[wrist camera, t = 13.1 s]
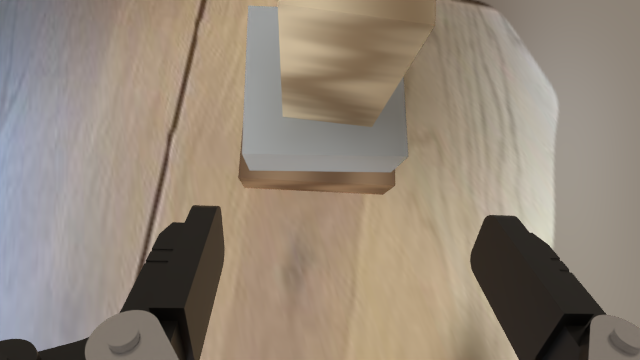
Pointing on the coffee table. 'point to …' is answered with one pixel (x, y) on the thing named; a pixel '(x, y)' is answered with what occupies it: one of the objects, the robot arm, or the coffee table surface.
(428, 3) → the oak block
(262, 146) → the tower top
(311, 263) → the coffee table surface
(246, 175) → the tower base
